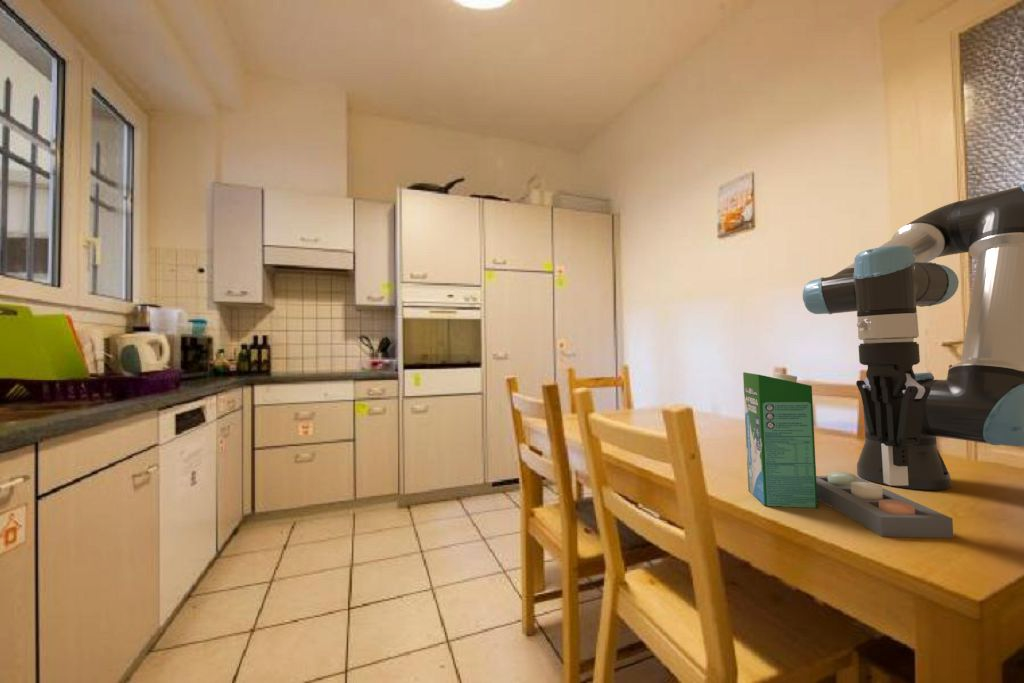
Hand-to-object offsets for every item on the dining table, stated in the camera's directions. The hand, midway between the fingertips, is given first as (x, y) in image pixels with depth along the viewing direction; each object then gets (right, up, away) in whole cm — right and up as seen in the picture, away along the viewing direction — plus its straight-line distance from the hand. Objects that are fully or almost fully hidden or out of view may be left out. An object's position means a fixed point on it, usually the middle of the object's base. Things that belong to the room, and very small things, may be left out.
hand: (895, 483), depth 70 cm
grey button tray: (+1, -7, +7) cm, 10 cm away
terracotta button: (0, -6, 0) cm, 6 cm away
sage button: (+2, -6, +14) cm, 15 cm away
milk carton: (-10, -8, +14) cm, 19 cm away
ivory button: (+1, -6, +7) cm, 9 cm away
